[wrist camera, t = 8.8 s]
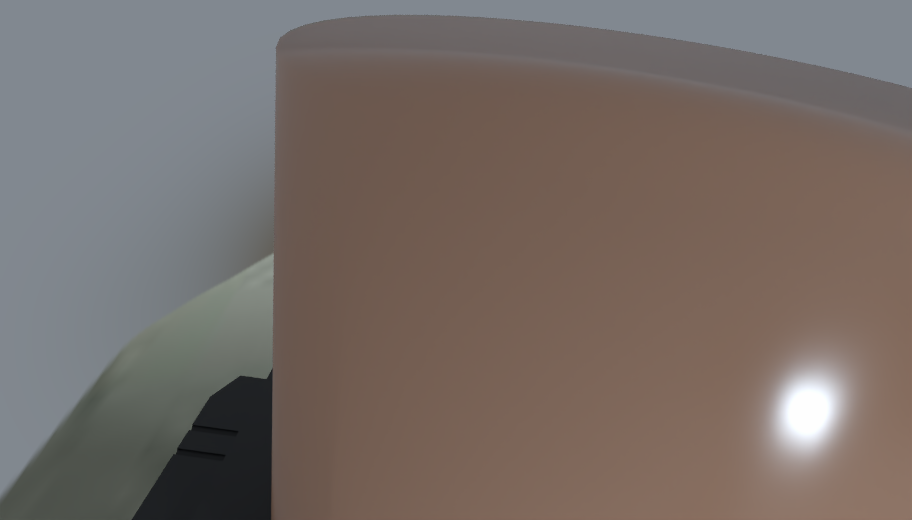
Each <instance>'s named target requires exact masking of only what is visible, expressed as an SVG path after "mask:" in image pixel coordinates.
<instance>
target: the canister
mask: <svg viewBox="0 0 912 520" xmlns="http://www.w3.org/2000/svg"><path fill="white" fill-rule="evenodd" d="M275 109H276V111H275V201H274V202H275V204H274V296H273V391H272V486H271V520H912V88H909V87H905V86H902V85H897V84H893V83H890V82H885V81H881V80H877V79H873V78H869V77H865V76H860V75H856V74H852V73H848V72H843V71H839V70H834V69H830V68H825V67H821V66H816V65H811V64H806V63H801V62H797V61H792V60H787V59H782V58H777V57H771V56H767V55H762V54H756V53H751V52H746V51H740V50H735V49H729V48H724V47H718V46H712V45H706V44H700V43H694V42H688V41H682V40H676V39H669V38H663V37H656V36H649V35H643V34H635V33H628V32H621V31H614V30H606V29H598V28H589V27H581V26H573V25H563V24H553V23H544V22H533V21H521V20H511V19H497V18H483V17H465V16H464V17H463V16H440V15H382V16H381V15H380V16H361V17H347V18H339V19H332V20H325V21H320V22H316V23H311V24H307V25H303V26H301V27H298V28H296V29H293V30H290V31H289V32H287V33H286V34H285V35H283V36H282V37H281V38H280V39H279V42H278V44H277V47H276V108H275Z"/></svg>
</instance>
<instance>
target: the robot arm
mask: <svg viewBox="0 0 912 520" xmlns="http://www.w3.org/2000/svg"><path fill="white" fill-rule="evenodd" d="M272 391H273V368H272V370H271V372H270V374H269V376H268V378H267V379H261V378H253V377H246V376H239V377H238V378H237V379H235V380H234V381H232V382H231V383H229V384H228V385H227V386H225V387H224V388H222V389H221V390H219V391H218V392H217V393H215V394H214V395H212V396H211V397H210V398H209V400H208V401H207V403H206V404H205V406H204V407H203V409H202V411H201V412H200V414H199V415H198V417H197V418H196V420H195V421H194V423H193V425H192V430H189V431H188V432H187V434H186V436H185V437H184V439H183V440H182V442H181V443H180V445H179V447H178V448H177V453H176V455H175V454H173V456H172V458H171V459H170V461H169V462H168V464H167V465H166V467H165V469H164V470H163V472H162V473H161V475H160V476H159V478H158V480H157V481H156V483H155V484H154V486H153V487H152V489H151V490H150V492H149V494H148V495H147V497H146V498H145V500H144V501H143V503H142V505H141V506H140V508H139V509H138V511H137V512H136V514H135V516H134V517H133V519H132V520H271V486H272Z"/></svg>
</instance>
